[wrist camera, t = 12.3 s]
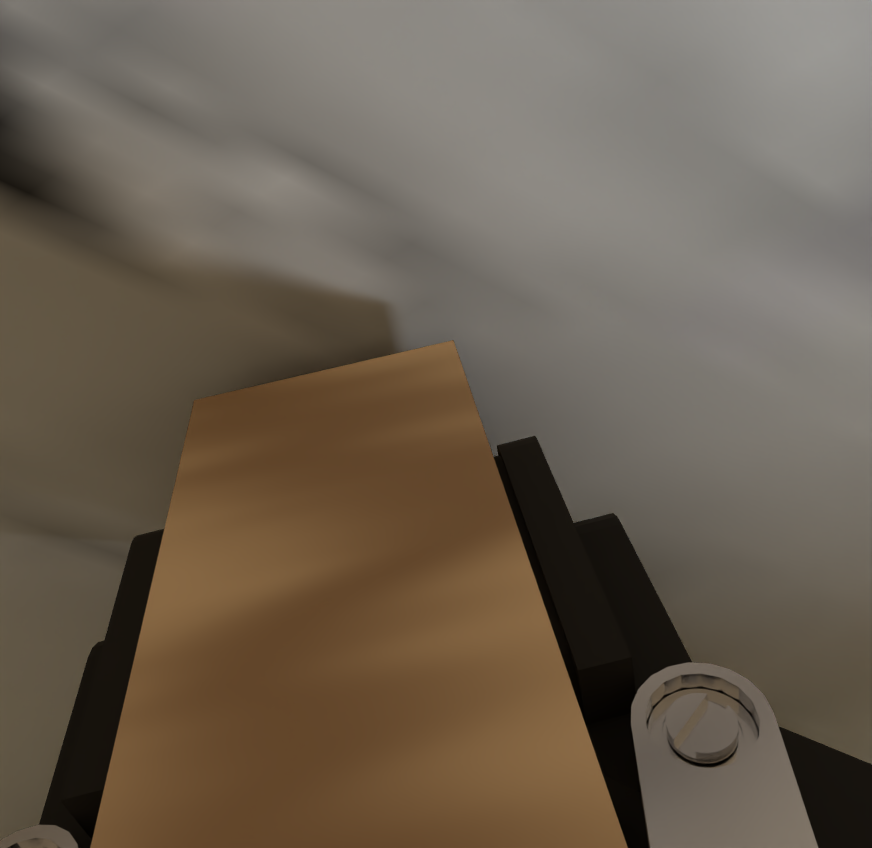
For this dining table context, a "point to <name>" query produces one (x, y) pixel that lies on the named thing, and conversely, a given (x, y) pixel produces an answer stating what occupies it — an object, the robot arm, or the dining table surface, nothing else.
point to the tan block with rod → (349, 635)
